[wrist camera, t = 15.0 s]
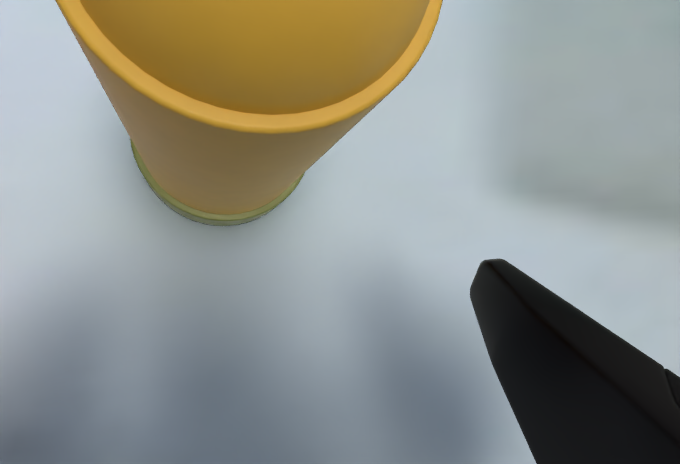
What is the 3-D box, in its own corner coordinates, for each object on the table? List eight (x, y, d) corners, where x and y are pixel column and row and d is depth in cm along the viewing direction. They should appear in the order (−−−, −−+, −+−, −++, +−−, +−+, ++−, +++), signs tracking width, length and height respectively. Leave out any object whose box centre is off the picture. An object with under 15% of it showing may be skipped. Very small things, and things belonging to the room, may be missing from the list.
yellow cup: (284, 241, 18) (518, 166, 5) (119, 206, 16) (-199, -32, 3) (315, 91, 18) (594, -341, 5) (157, 46, 17) (15, -674, 4)
